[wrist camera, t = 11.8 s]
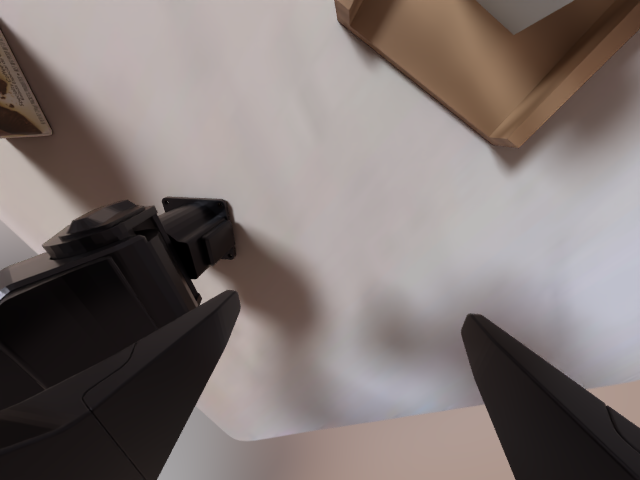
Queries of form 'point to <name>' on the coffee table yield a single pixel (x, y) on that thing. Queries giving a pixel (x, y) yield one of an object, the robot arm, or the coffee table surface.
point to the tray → (493, 55)
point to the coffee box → (17, 100)
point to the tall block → (521, 11)
